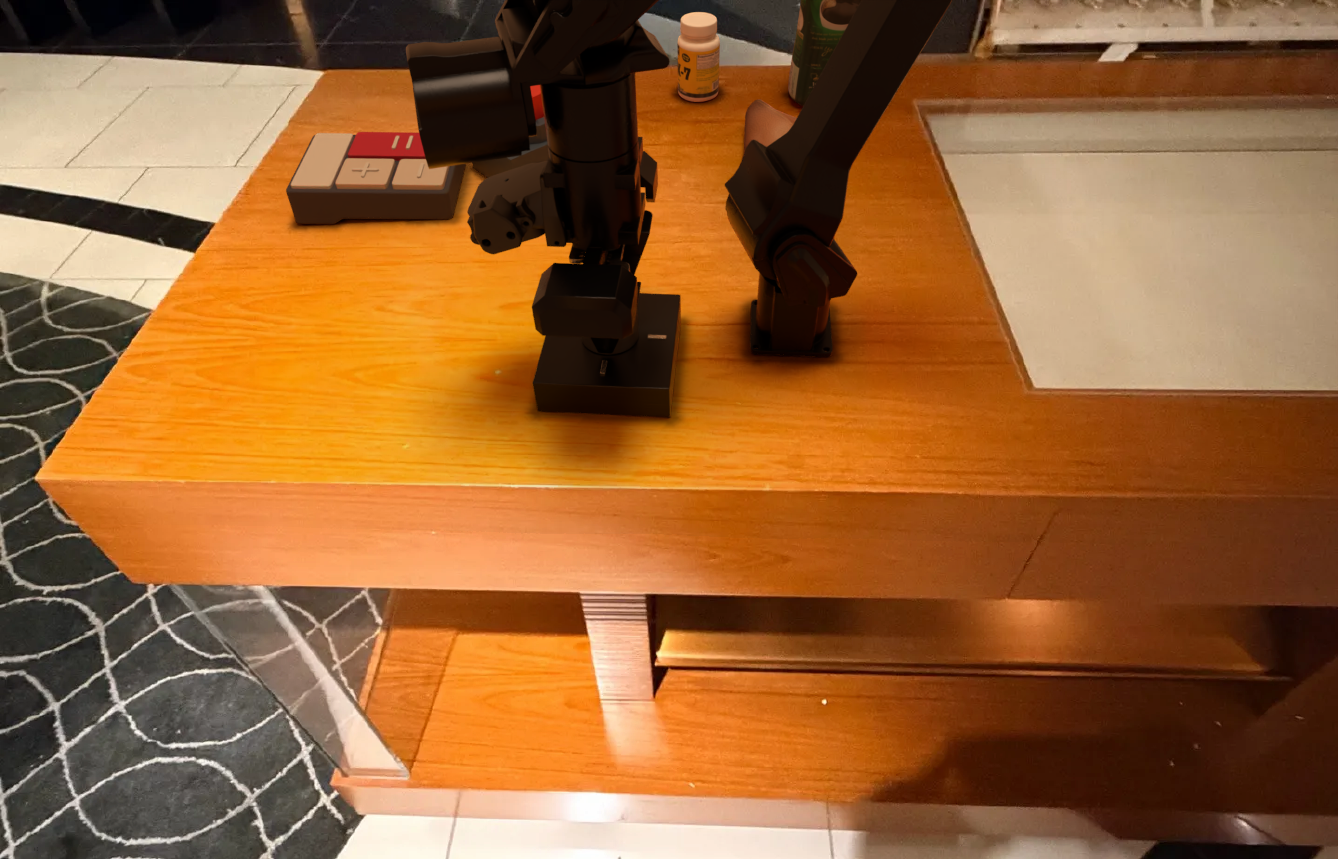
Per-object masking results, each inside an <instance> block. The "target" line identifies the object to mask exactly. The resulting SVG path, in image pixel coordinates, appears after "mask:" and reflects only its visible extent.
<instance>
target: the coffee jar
mask: <svg viewBox="0 0 1338 859" xmlns="http://www.w3.org/2000/svg"><path fill="white" fill-rule="evenodd" d="M860 2H861V0H800V3H799V13H798V19H797V26H796V32H795V37H794V42H793V49H792V54H791V61H790V67H789V75H788V84H787V85H788V88H787V91H788V94H789V97H790V99H791V100H792V101H793V102H795V103H796V104H798V105H799V106H801V107H803V106H804V104H805V102H806V100H807V99H808V97H809V95H810V93H811V91H812V90H813V88H814V86H815V84H816V82H817V80H818V79H819V77H820V75H821V73H822V71H823V70H824V68H825V66H826V64H827V62H828V60H829V59H830V57H831V55H832V53H833V51H834V49H835V48H836V46H837V44H838V42H839V40H840V39H841V37H842V35H843V33H844V31H845V29H846V28H847V26H848V24H849V22H850V20H851V18H852V17H853V15H854V13H855V11H856V9H857V8H858V6H859V4H860Z"/></svg>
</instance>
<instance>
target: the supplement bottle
mask: <svg viewBox="0 0 1338 859" xmlns="http://www.w3.org/2000/svg"><path fill="white" fill-rule="evenodd" d="M679 30H680V31H679V32H680V35H679V36H678V38H677V45H676V46H677V51H676V52H677V93H678V96H680V97H681V98H682V99H683V100H685V101H688V102H692V103H693V102H694V103H702V102H707V101H711V100H713V99H715V98H716V97H717V96H718V94H719V91H720V89H719V88H720V87H719V86H720V56H721V55H720V52H721V40H720V37H719V35H718V34H717V33H718V19H717V17H716V16H715V15H714V14H712V13H710V12H704V11H695V12H689V13H686V14H683V15H682V16H681V18H680V27H679Z"/></svg>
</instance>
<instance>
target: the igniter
mask: <svg viewBox="0 0 1338 859" xmlns="http://www.w3.org/2000/svg"><path fill="white" fill-rule="evenodd" d="M536 129H537V135H536V136H531V137H529V143H530V150H528V151H522V155H521V156H514V157H507V158H501V159H494V160H487V161H480V162H474V163H471V165H472V168H473V169H474V170H476V171H477V172H479V173H480V174H481V175H483V176H484V177H485V178H486V179H487V178H489V177H491V176H493V175H496V174H499V173H502V172H505V171H508V170H511V169H515V168H518V167H521V166H524V165H527V164H530V163H540V162H543V161H547V160H548V157H549V153H548V145H547V136H546V128H545V121H544V117H542V118H540V119H537V120H536Z"/></svg>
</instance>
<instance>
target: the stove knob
mask: <svg viewBox="0 0 1338 859" xmlns="http://www.w3.org/2000/svg"><path fill="white" fill-rule="evenodd" d="M638 337H639V327H638V310H637V311H636V316H635V322H634V328H633V333H632V334H631V335H629V336H627V337H625V338H623V339H619V341H618V343H617V345H616V347H615V349H614V351H613V353H610V354H609V353H599V352H598V351H597V349H596V347H595V345H594V344H593V342H592V340H591V338H590V337H581V339H582V342H583V344H584V345H585V346H586V347H587V348H588V349H589V350H591V351H593V352H595V353H599V354H605V355H611V354H618V353H622V352H624V351H626V350H628V349H630V348H631V347H632V346H634V344H635V343H636V342H637V340H638Z"/></svg>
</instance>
